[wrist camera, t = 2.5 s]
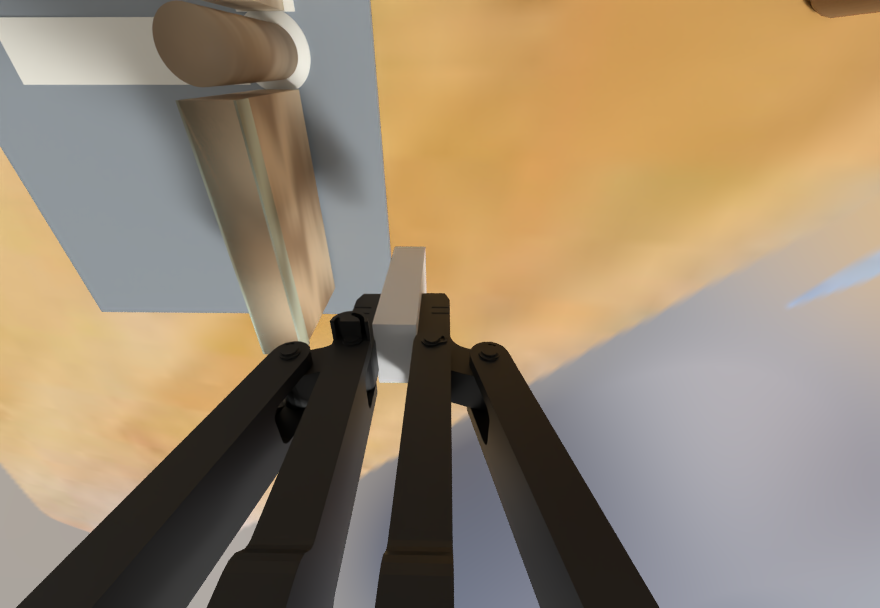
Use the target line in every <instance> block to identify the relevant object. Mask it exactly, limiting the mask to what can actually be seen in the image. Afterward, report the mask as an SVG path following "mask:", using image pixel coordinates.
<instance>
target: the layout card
mask: <svg viewBox="0 0 880 608" xmlns="http://www.w3.org/2000/svg"><path fill="white" fill-rule="evenodd" d="M170 1H176V0H0V147H1V148H2V150H3V151H4V153H5V155H6V156H7V158H8V160H9V161H10V163H11V165H12V166H13V168H14V169H15V171H16V173H17V174H18V176H19V178H20V179H21V181H22V182H23V184H24V186H25V187H26V189H27V191H28V192H29V194H30V195H31V197H32V199H33V200H34V202H35V204H36V205H37V207H38V209H39V210H40V212H41V213H42V215H43V217H44V218H45V220H46V222H47V223H48V225H49V226H50V228H51V230H52V231H53V233H54V235H55V236H56V238H57V240H58V241H59V243H60V244H61V246H62V248H63V249H64V251H65V253H66V254H67V256H68V257H69V259H70V261H71V262H72V264H73V266H74V267H75V269H76V270H77V272H78V274H79V275H80V277H81V279H82V280H83V282H84V284H85V285H86V287H87V288H88V290H89V292H90V293H91V295H92V297H93V298H94V300H95V301H96V303H97V305H98V306H99V308H100V310H101V311H102V312H183V313H249V311H248V309H247V306H246V303H245V300H244V297H243V294H242V291H241V288H240V286H239V283H238V280H237V277H236V274H235V271H234V268H233V265H232V262H231V260H230V257H229V254H228V251H227V248H226V245H225V242H224V239H223V237H222V234H221V231H220V228H219V225H218V222H217V219H216V216H215V214H214V211H213V208H212V205H211V202H210V199H209V196H208V193H207V191H206V188H205V185H204V182H203V179H202V176H201V173H200V170H199V167H198V165H197V162H196V159H195V156H194V153H193V150H192V147H191V144H190V142H189V139H188V136H187V133H186V130H185V127H184V124H183V121H182V119H181V116H180V113H179V110H178V107H177V104H176V101H175V100H182V99H190V98H200V97H207V96H215V95H222V94H230V93H237V92H245V91H252V90H260V89H299V93H300V98H301V104H302V109H303V115H304V120H305V126H306V131H307V136H308V142H309V147H310V153H311V158H312V164H313V169H314V175H315V180H316V186H317V191H318V197H319V202H320V208H321V213H322V219H323V224H324V230H325V235H326V240H327V246H328V251H329V257H330V262H331V268H332V273H333V279H334V284H335V290H334V292H333V294H332V296H331V298H330V300H329V302H328V304H327V306H326V308H325V310H324V312H323V314H339V313H342V312H346V311H352V310H353V308H354V305H355V303H356V300H357V299H358V298H359V297H361V296H362V295H363V294H381V293H382V289H383V286H384V282H385V279H386V275H387V272H388V269H389V265H390V262H391V249H390V237H389V224H388V212H387V200H386V187H385V175H384V163H383V150H382V138H381V126H380V113H379V101H378V89H377V76H376V64H375V52H374V39H373V27H372V15H371V2H370V0H283V5H284V11H241V10H237V9H233V8H229V7H225V6H221V5H218V4H214V3H210V2H206V1H202V0H177V1H184V2H188V3H192V4H197V5H201V6H205V7H209V8H213V9H217V10H222V11H226V12H230V13H234V14H238V15H242V16H247V17H251V18H255V19H259V20H263V21H267V22H272V23H275V24H278V25H279V26H281V27H282V28H284V29H285V30H286V31H287V32H288V33H289V34H290V36H291V37H292V39H293V41H294V43H295V45H296V48H297V52H298V64H297V67H296V70H295V72H294V73H293V74H292V75H291V76H290V77H289V78H287V79H284V80H277V81H267V82H256V83H245V84H235V85H224V86H213V87H196V86H192V85H190V84H187V83H185V82H184V81H182V80H180V79H179V78H178V77H176V76H175V75H174V74H173V73H172V72H171V71H170V70H169V69H168V68H167V66H166V65H165V64H164V62H163V61H162V59H161V57H160V56H159V54H158V52H157V49H156V47H155V43H154V39H153V33H152V24H153V19H154V16H155V14H156V12H157V10H158V9H159V8H160V7H161V6H162V5H163V4H165V3H167V2H170Z"/></svg>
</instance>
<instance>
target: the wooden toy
mask: <svg viewBox="0 0 880 608" xmlns="http://www.w3.org/2000/svg"><path fill="white" fill-rule="evenodd" d="M810 2H811V5H812V8H813V9H814V10H815V11H816V12H817V13H819V14H820V15H821V16H825V17H829V18H835V17H843V16H851V15H859V14H868V13H876V12H880V0H810Z"/></svg>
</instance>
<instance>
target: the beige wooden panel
mask: <svg viewBox="0 0 880 608" xmlns="http://www.w3.org/2000/svg"><path fill="white" fill-rule="evenodd" d="M202 1H206V2H210V3H214V4H218V5H221V6H225V7H229V8H233V9H237V10H241V11H284V5H283V0H202ZM152 33H153V39H154V43H155V47H156V49H157V52H158V54H159V56H160V57H161V59H162V61H163V62H164V64H165V65H166V66H167V68H168V69H169V70H170V71H171V72H172V73H173V74H174V75H175V76H176V77H178V78H179V79H180V80H182V81H184V82H185V83H187V84H190V85H192V86H196V87H213V86H224V85H235V84H245V83H256V82H267V81H277V80H284V79H287V78H289V77H290V76H291V75H292V74H293V73H294V72H295V70H296V67H297V64H298V52H297V48H296V45H295V43H294V41H293V39H292V37H291V36H290V34H289V33H288V32H287V31H286V30H285V29H284V28H282V27H281V26H279V25H278V24H275V23H272V22H267V21H263V20H259V19H255V18H251V17H247V16H242V15H238V14H234V13H230V12H226V11H222V10H217V9H213V8H209V7H205V6H201V5H197V4H192V3H188V2H184V1H177V0H176V1H170V2H167V3H165V4H163V5H162V6H161V7H160V8H159V9H158V10H157V12H156V14H155V16H154V19H153V24H152Z"/></svg>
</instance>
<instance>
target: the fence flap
mask: <svg viewBox="0 0 880 608" xmlns="http://www.w3.org/2000/svg"><path fill="white" fill-rule="evenodd" d="M175 101H176V104H177V107H178V110H179V113H180V116H181V119H182V121H183V124H184V127H185V130H186V133H187V136H188V139H189V142H190V144H191V147H192V150H193V153H194V156H195V159H196V162H197V165H198V167H199V170H200V173H201V176H202V179H203V182H204V185H205V188H206V191H207V193H208V196H209V199H210V202H211V205H212V208H213V211H214V214H215V216H216V219H217V222H218V225H219V228H220V231H221V234H222V237H223V239H224V242H225V245H226V248H227V251H228V254H229V257H230V260H231V262H232V265H233V268H234V271H235V274H236V277H237V280H238V283H239V286H240V288H241V291H242V294H243V297H244V300H245V303H246V306H247V309H248V311H249V314H250V317H251V320H252V323H253V326H254V329H255V332H256V334H257V337H258V340H259V343H260V346H261V349H262V352H263V354H270V353H271V352H272V351H273V350H274V349H275V348H277V347H278V346H279V345H282V344H284V343H287V342H292V341H301V342H304V343H307V344H308V345H309V343H310V342H309V339H310V337H311V335H312V333H313V331H314V329H315V328H316V326H317V324H318V322H319V320H320V318H321V316H322V314H323V312H324V310H325V308H326V306H327V304H328V302H329V300H330V298H331V296H332V294H333V292H334V290H335V284H334V279H333V273H332V268H331V262H330V257H329V251H328V246H327V240H326V235H325V230H324V224H323V219H322V213H321V208H320V202H319V197H318V191H317V186H316V180H315V175H314V169H313V164H312V158H311V153H310V147H309V142H308V136H307V131H306V126H305V120H304V115H303V109H302V104H301V98H300V93H299V89H260V90H252V91H245V92H237V93H230V94H222V95H215V96H207V97H200V98H190V99H182V100H175Z"/></svg>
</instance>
